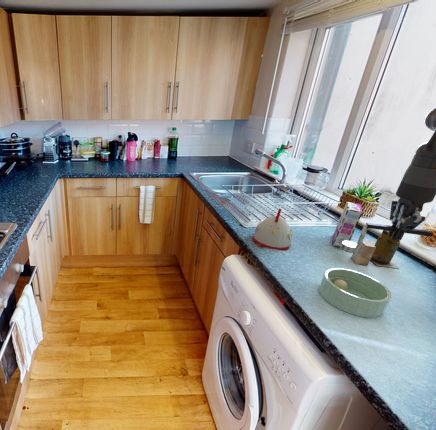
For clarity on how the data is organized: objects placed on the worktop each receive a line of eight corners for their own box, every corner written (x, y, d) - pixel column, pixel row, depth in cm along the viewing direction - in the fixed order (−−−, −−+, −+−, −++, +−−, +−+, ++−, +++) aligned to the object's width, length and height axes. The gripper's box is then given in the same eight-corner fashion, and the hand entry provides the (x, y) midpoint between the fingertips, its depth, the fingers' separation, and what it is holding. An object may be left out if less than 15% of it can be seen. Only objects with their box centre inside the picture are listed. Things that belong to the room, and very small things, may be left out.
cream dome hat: (249, 244, 117) (258, 210, 111) (255, 231, 128) (263, 200, 121) (287, 254, 110) (299, 220, 104) (290, 240, 121) (301, 207, 114)
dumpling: (342, 287, 91) (347, 278, 90) (346, 294, 88) (351, 285, 87) (329, 285, 93) (333, 276, 91) (333, 292, 89) (337, 282, 88)
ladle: (342, 251, 89) (352, 224, 85) (338, 245, 93) (348, 218, 89) (421, 264, 83) (437, 235, 79) (414, 256, 86) (428, 228, 83)
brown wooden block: (360, 258, 109) (369, 239, 105) (366, 267, 104) (376, 247, 100) (351, 257, 110) (359, 238, 106) (356, 265, 105) (365, 245, 101)
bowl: (369, 291, 91) (377, 274, 89) (392, 326, 78) (402, 307, 75) (312, 279, 96) (319, 263, 94) (325, 310, 83) (333, 293, 80)
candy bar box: (347, 249, 115) (363, 212, 108) (332, 245, 117) (346, 209, 110) (346, 238, 123) (361, 203, 116) (332, 235, 126) (346, 200, 119)
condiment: (383, 256, 111) (397, 228, 106) (399, 268, 103) (414, 239, 98) (362, 254, 112) (375, 226, 107) (376, 266, 104) (390, 237, 99)
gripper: (455, 192, 70) (422, 252, 78) (424, 177, 82) (398, 230, 89) (416, 187, 73) (388, 246, 80) (392, 174, 85) (369, 226, 92)
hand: (393, 237), depth 85 cm, fingers closed on ladle, 1 cm apart
